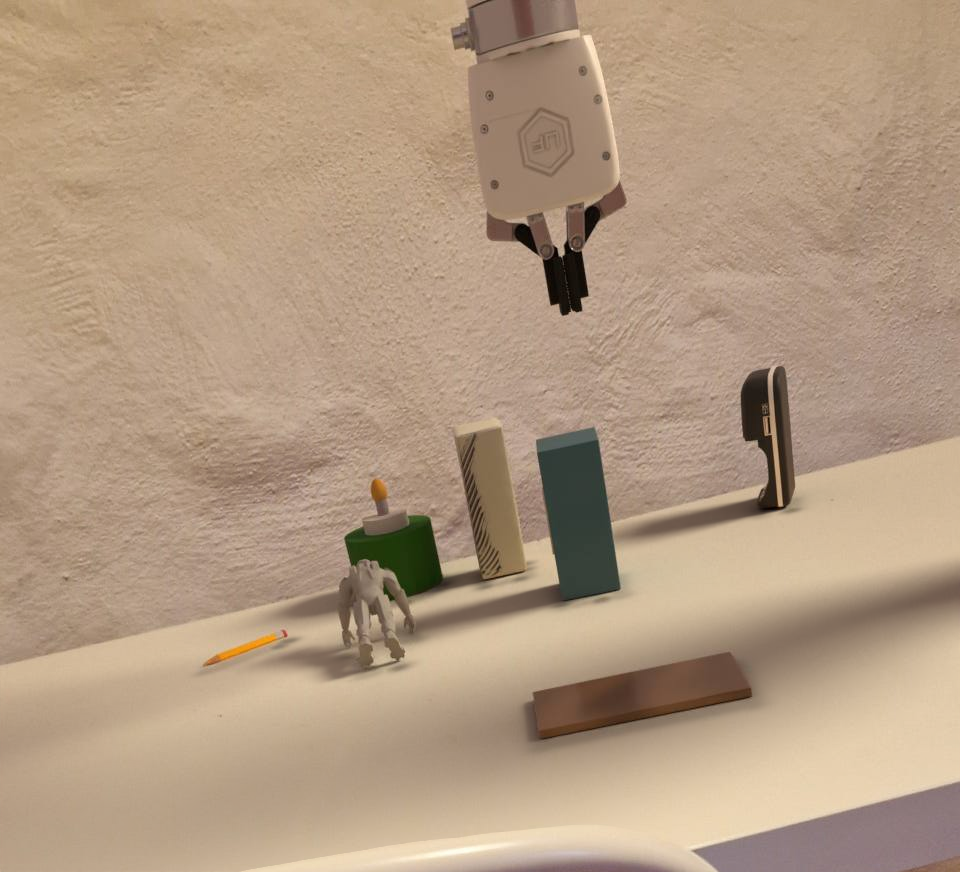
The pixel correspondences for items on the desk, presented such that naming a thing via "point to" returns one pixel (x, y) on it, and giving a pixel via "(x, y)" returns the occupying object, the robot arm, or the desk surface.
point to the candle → (397, 544)
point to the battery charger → (770, 431)
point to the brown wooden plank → (639, 694)
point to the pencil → (247, 647)
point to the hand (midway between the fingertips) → (571, 311)
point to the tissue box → (578, 513)
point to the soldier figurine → (372, 608)
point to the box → (490, 497)
